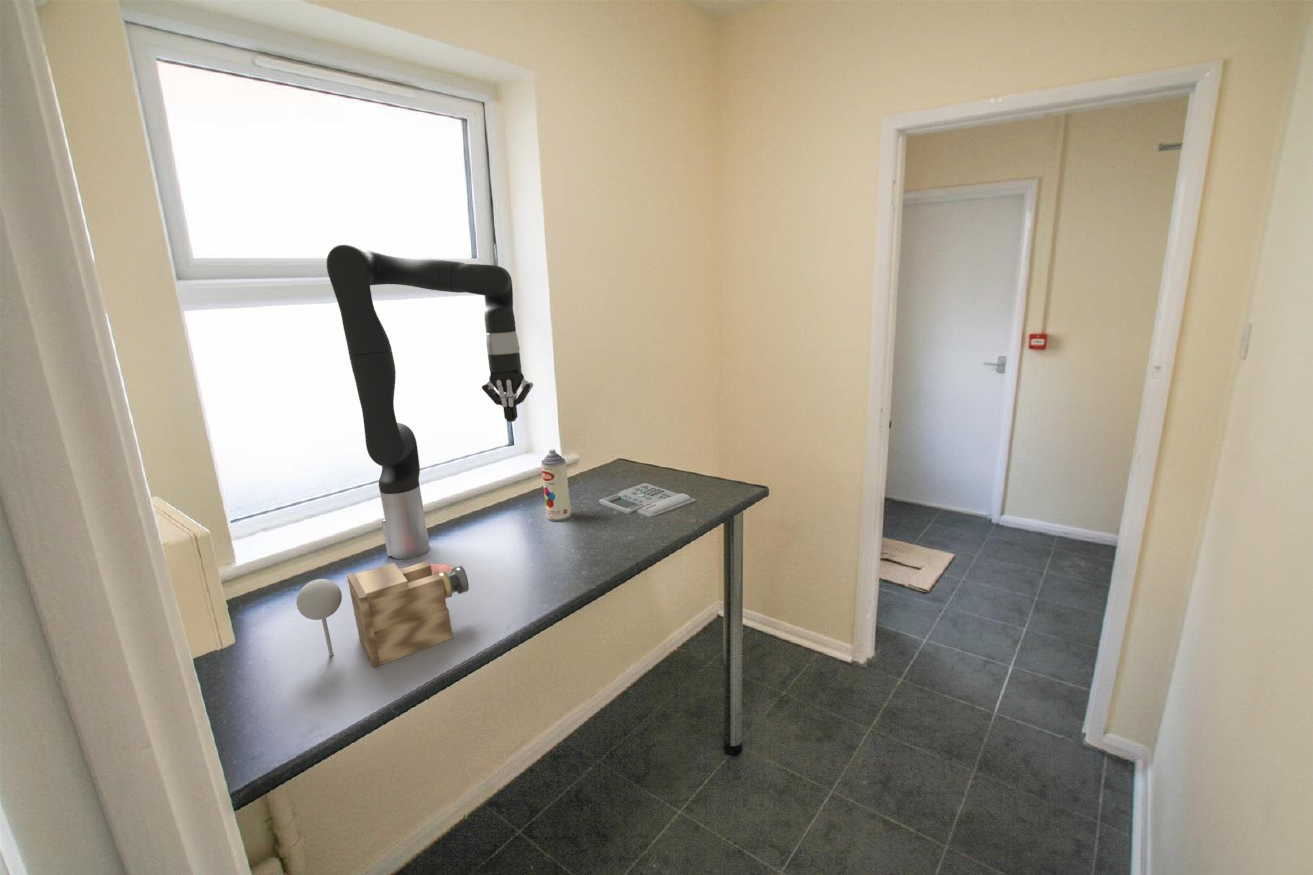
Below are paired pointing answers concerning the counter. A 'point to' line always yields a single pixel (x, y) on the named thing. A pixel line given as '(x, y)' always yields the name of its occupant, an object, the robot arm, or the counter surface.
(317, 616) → the lollipop
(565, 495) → the aerosol can
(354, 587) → the bearing block
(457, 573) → the shaft
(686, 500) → the office telephone
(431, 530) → the counter surface
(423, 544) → the robot arm
